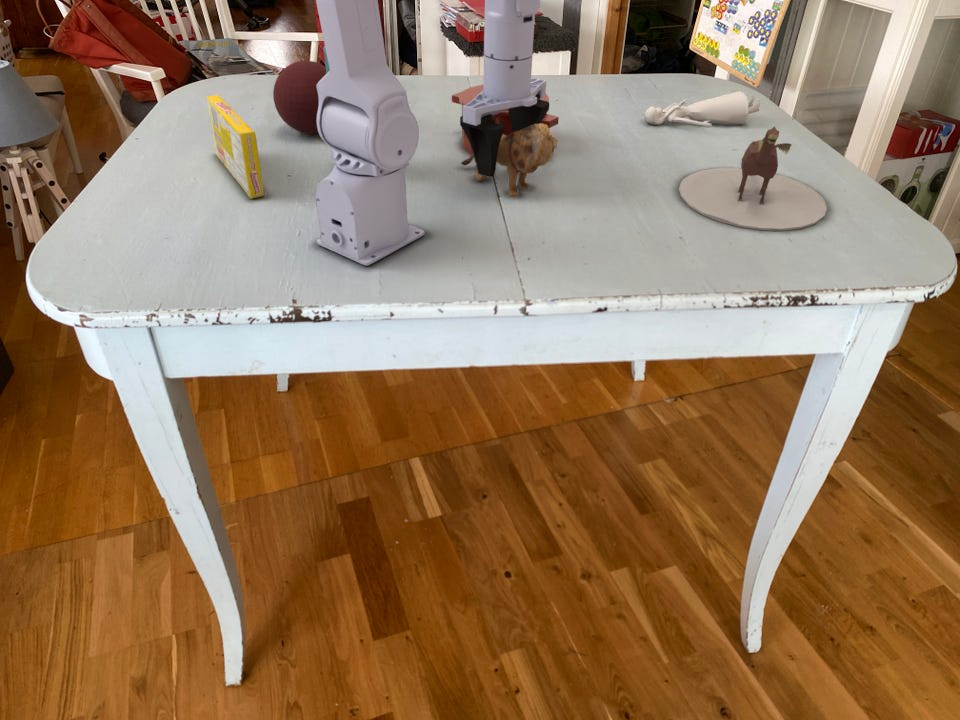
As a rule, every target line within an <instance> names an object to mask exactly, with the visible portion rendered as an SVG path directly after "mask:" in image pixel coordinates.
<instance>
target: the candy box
mask: <svg viewBox="0 0 960 720" xmlns="http://www.w3.org/2000/svg"><path fill="white" fill-rule="evenodd" d="M206 102H207V109H208V114H209V119H210V125H211V131H212V136H213V143H214V147H215V154H216V156H217V158H218V159H219V160H220V161H221V163H222V164H223V165H224V167H225V168H226V169H227V170H228V172H229V173H230V175H232V177H233V178H234V180H235V181H236V182H237V183H238V185H239V186H240V187H241V189H242V190H244V192H245V193H246V195H247V196H248V197H249V199H251V200H253V199H256V198H257V199H258V198H260V197H264V195H265V194H264V186H263V184H264V183H263V177H262V170H261V169H262V168H261V162H260V155H259V148H258V142H257V136H256V132H255V131H254V130H253V129H252V128H251V127H250V126H249V125H248V124H247V122H245V121H244V119H242V117H241V116H240V115H238V114H237V113H236V111H235V110H234V109H232V107H231V106H230V105H229V104H228V103H227V102H226V101H225V100H224V99H223V98H222V97H221V96H220V95H219V94H215V95H207V96H206Z"/></svg>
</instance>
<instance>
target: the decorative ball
mask: <svg viewBox="0 0 960 720" xmlns="http://www.w3.org/2000/svg"><path fill="white" fill-rule="evenodd" d="M325 75H326V65H323V64H321V63H319V62H316V61H312V60H300V61H299V60H298V61H295V62H292V63H290V64H289V65H287V66H285V68H283V69H282V70H281V71H280V73H279V74H278V76H277V77H276V79H275V82H274V84H273V91H272V95H273V104H274V106H275V109H276V111H277V113H278V115H279V117H280V118H281V119H282V121H283V122H284V123H285V124H286V125H287V126H289V127H290V128H291V129H293V130H295V131H297V132H300V133H304V134H310V135H311V134H319V132H318V129H317V112H318V106H319V97H318V91H317V84H318V82H319V81H320V80H321V79H322V78H323V77H324V76H325Z"/></svg>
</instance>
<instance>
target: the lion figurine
mask: <svg viewBox="0 0 960 720" xmlns="http://www.w3.org/2000/svg"><path fill="white" fill-rule="evenodd" d="M550 129H551V128H549V127H548V125H546V124H542V123H540V124H534V125H531V126H529V127H527V128H523V129H522V130H519V131H514V132H512V133H511V134H510V135H509V136H506V135H504V134H502V137H501V140H500V143H499V148H498V153H497V162H496V164H498V165H501V166H503V167H506V169H507V178H508V195H509V196H510V197H513V198H514V197H518V196H519V195H520V192H519V191H518V187H519V188H520V189H522V190H525V191H526V190H529V189H530V187H531V185H530V184H529V183H528V182H526V178H527V175H529V174H533V173H534V172H536V171H537V169H538V168H540V167H541V166H545V165H546V164H547V163H549V160H551V158H552V156H553V154H554V153H555V150H557V148H558V145H559V140H558V139H557V138H556V137H554V136H553V132H551V130H550ZM474 159H475V157H474V154H473V153H472V154H470V156H469V157H468V158H467V159H465V160H462V161H461V162H460V164H461V165H462V166H467V165H469V164H470V163H471V162H473V160H474ZM475 169H476V172H475V173H476V176H475V179H476V181H477V182H483V181H485V180H486V176H484V175H481V174H478V170H477V166H476V165H475ZM517 180H518V186H517Z"/></svg>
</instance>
